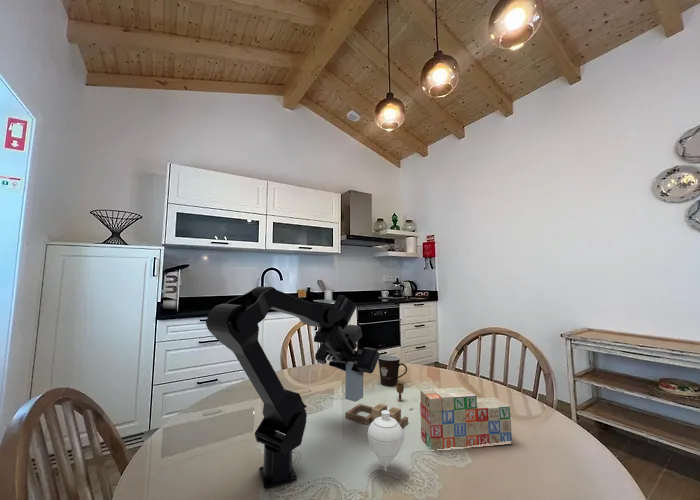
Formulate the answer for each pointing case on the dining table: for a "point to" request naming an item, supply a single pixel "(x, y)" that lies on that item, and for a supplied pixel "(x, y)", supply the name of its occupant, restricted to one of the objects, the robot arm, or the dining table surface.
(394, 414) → the oak offcut
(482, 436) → the stack of blocks
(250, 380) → the robot arm
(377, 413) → the oak offcut
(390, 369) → the coffee mug
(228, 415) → the dining table surface
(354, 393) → the batten
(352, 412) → the rack
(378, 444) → the spinning top
